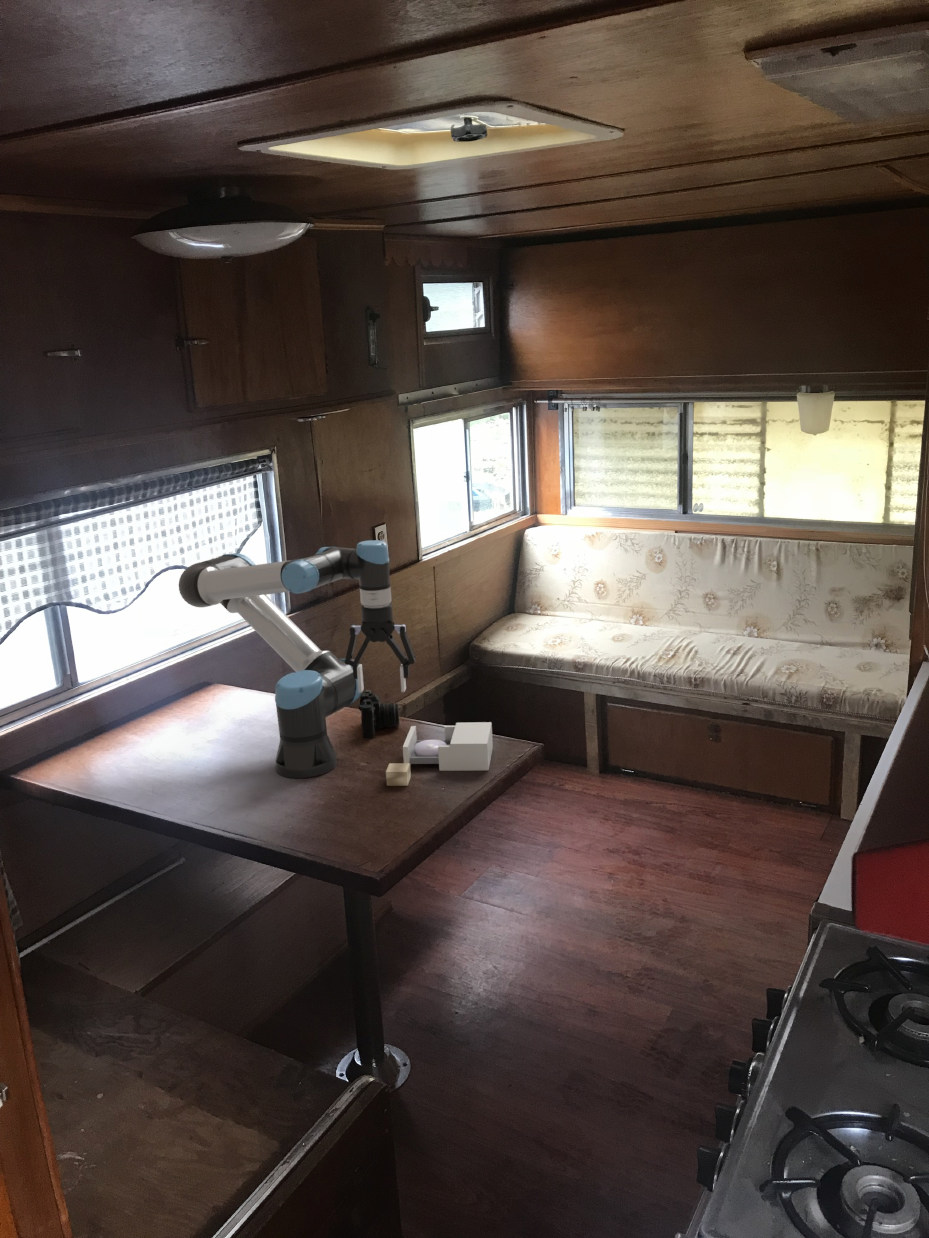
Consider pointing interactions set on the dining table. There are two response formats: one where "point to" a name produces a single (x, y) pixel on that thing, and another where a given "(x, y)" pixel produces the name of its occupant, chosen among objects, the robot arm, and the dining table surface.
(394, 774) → the beige block
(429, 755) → the lid
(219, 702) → the dining table surface
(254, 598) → the robot arm
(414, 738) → the tray
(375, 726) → the camera
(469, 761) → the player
